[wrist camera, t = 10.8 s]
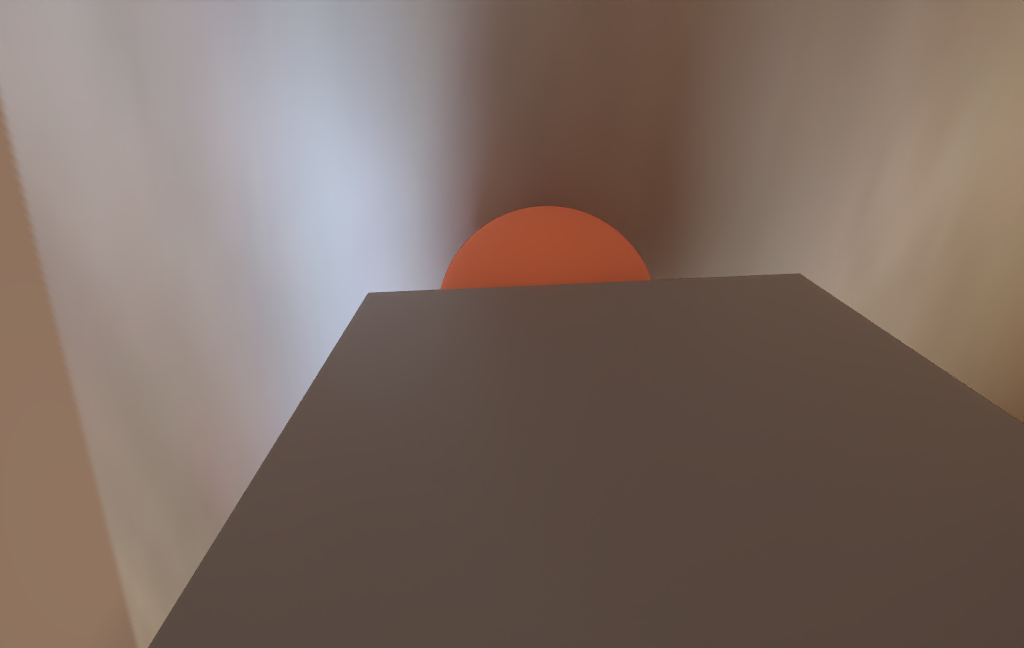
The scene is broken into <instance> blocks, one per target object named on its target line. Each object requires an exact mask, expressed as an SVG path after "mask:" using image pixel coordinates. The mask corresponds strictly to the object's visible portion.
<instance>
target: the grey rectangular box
mask: <svg viewBox="0 0 1024 648" xmlns="http://www.w3.org/2000/svg"><path fill="white" fill-rule="evenodd" d="M148 648H1024V424H1023V423H1022V422H1020V421H1019V420H1017V419H1016V418H1014V417H1013V416H1011V415H1010V414H1008V413H1007V412H1005V411H1004V410H1002V409H1001V408H999V407H998V406H996V405H995V404H993V403H992V402H990V401H989V400H987V399H986V398H984V397H983V396H981V395H980V394H978V393H977V392H975V391H974V390H972V389H971V388H969V387H968V386H966V385H965V384H963V383H962V382H960V381H959V380H957V379H956V378H954V377H953V376H951V375H950V374H949V373H947V372H946V371H944V370H943V369H941V368H940V367H938V366H937V365H935V364H934V363H932V362H931V361H929V360H928V359H926V358H925V357H923V356H922V355H920V354H919V353H917V352H916V351H914V350H913V349H911V348H910V347H908V346H907V345H905V344H904V343H902V342H901V341H899V340H898V339H896V338H895V337H893V336H892V335H890V334H889V333H887V332H886V331H884V330H883V329H881V328H880V327H878V326H877V325H875V324H874V323H873V322H871V321H870V320H868V319H867V318H865V317H864V316H862V315H861V314H859V313H858V312H856V311H855V310H853V309H852V308H850V307H849V306H847V305H846V304H844V303H843V302H841V301H840V300H838V299H837V298H835V297H834V296H832V295H831V294H829V293H828V292H826V291H825V290H823V289H822V288H820V287H819V286H817V285H816V284H814V283H813V282H811V281H810V280H808V279H807V278H805V277H804V276H802V275H801V274H778V275H755V276H733V277H711V278H689V279H666V280H644V281H622V282H599V283H577V284H555V285H532V286H510V287H488V288H466V289H443V290H421V291H399V292H376V293H368V294H367V296H366V297H365V299H364V301H363V302H362V304H361V305H360V307H359V309H358V310H357V312H356V313H355V315H354V317H353V318H352V320H351V322H350V323H349V325H348V326H347V328H346V330H345V331H344V333H343V334H342V336H341V338H340V339H339V341H338V342H337V344H336V346H335V347H334V349H333V351H332V352H331V354H330V355H329V357H328V359H327V360H326V362H325V363H324V365H323V367H322V368H321V370H320V372H319V373H318V375H317V376H316V378H315V380H314V381H313V383H312V384H311V386H310V388H309V389H308V391H307V392H306V394H305V396H304V397H303V399H302V401H301V402H300V404H299V405H298V407H297V409H296V410H295V412H294V413H293V415H292V417H291V418H290V420H289V421H288V423H287V425H286V426H285V428H284V430H283V431H282V433H281V434H280V436H279V438H278V439H277V441H276V442H275V444H274V446H273V447H272V449H271V451H270V452H269V454H268V455H267V457H266V459H265V460H264V462H263V463H262V465H261V467H260V468H259V470H258V471H257V473H256V475H255V476H254V478H253V480H252V481H251V483H250V484H249V486H248V488H247V489H246V491H245V492H244V494H243V496H242V497H241V499H240V500H239V502H238V504H237V505H236V507H235V509H234V510H233V512H232V513H231V515H230V517H229V518H228V520H227V521H226V523H225V525H224V526H223V528H222V529H221V531H220V533H219V534H218V536H217V538H216V539H215V541H214V542H213V544H212V546H211V547H210V549H209V550H208V552H207V554H206V555H205V557H204V559H203V560H202V562H201V563H200V565H199V567H198V568H197V570H196V571H195V573H194V575H193V576H192V578H191V579H190V581H189V583H188V584H187V586H186V588H185V589H184V591H183V592H182V594H181V596H180V597H179V599H178V600H177V602H176V604H175V605H174V607H173V608H172V610H171V612H170V613H169V615H168V617H167V618H166V620H165V621H164V623H163V625H162V626H161V628H160V629H159V631H158V633H157V634H156V636H155V637H154V639H153V641H152V642H151V644H150V646H149V647H148Z"/></svg>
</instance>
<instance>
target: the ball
mask: <svg viewBox="0 0 1024 648" xmlns="http://www.w3.org/2000/svg"><path fill="white" fill-rule="evenodd" d="M644 280H651V278H650V275H649V272H648V270H647V268H646V266H645V264H644V262H643V260H642V258H641V257H640V256H639V254H638V253H637V251H636V250H635V248H634V247H633V246H632V245H631V244H630V243H629V242H628V241H627V240H626V238H625V237H624V236H623V235H622V234H620V233H619V232H618V231H617V230H616V229H615V228H613V227H612V226H610V225H609V224H607V223H606V222H604V221H603V220H601V219H599V218H597V217H595V216H593V215H591V214H588V213H585V212H582V211H579V210H575V209H571V208H567V207H559V206H536V207H528V208H524V209H519V210H516V211H513V212H510V213H507V214H504V215H502V216H500V217H498V218H496V219H494V220H492V221H491V222H489V223H488V224H486V225H484V226H483V227H482V228H481V229H479V230H478V231H477V232H476V233H475V234H473V235H472V236H471V237H470V238H469V239H468V240H467V241H466V242H465V243H464V245H463V246H462V247H461V248H460V250H459V251H458V252H457V254H456V255H455V256H454V258H453V260H452V262H451V264H450V266H449V267H448V270H447V272H446V274H445V277H444V280H443V282H442V285H441V289H440V290H443V289H466V288H488V287H510V286H532V285H555V284H577V283H599V282H622V281H644Z"/></svg>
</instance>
